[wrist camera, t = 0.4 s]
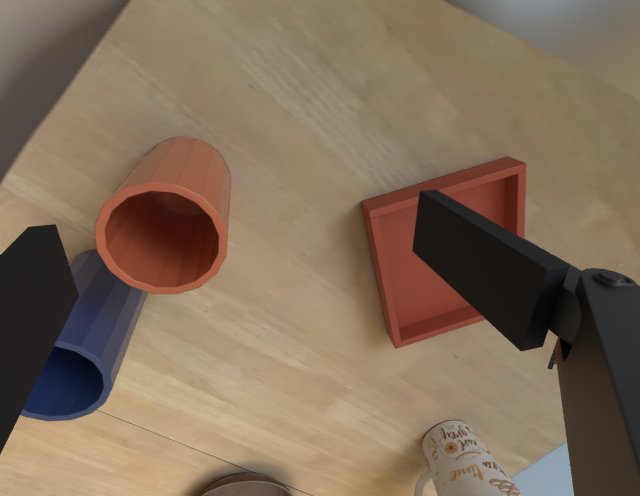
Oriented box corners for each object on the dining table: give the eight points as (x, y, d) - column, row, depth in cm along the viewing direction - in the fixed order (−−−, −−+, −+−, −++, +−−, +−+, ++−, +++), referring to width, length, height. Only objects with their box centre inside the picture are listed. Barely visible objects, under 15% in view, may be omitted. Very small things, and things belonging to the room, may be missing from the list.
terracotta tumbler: (127, 151, 30) (68, 205, 20) (212, 126, 31) (199, 166, 20) (165, 227, 34) (132, 308, 23) (242, 204, 34) (243, 274, 24)
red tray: (360, 201, 36) (368, 211, 34) (508, 156, 37) (526, 163, 35) (387, 333, 44) (395, 349, 42) (508, 294, 45) (522, 307, 43)
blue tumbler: (47, 263, 33) (-41, 362, 23) (126, 239, 34) (75, 326, 23) (89, 323, 37) (30, 433, 26) (161, 301, 37) (130, 401, 26)
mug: (491, 422, 56) (550, 509, 45) (427, 485, 61) (467, 578, 50) (442, 405, 52) (494, 496, 42) (378, 474, 57) (410, 572, 46)
